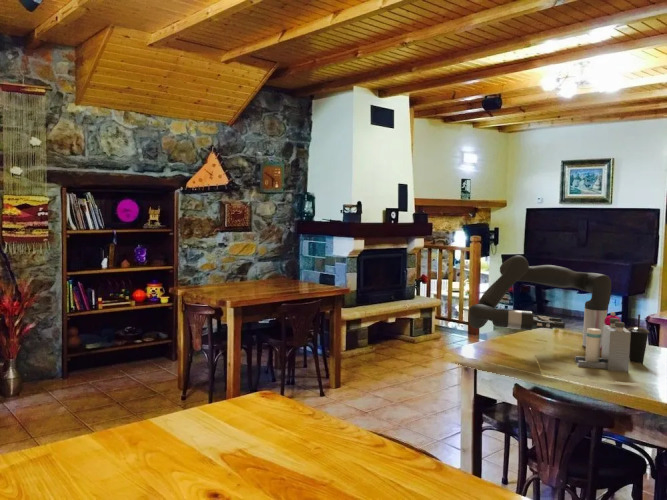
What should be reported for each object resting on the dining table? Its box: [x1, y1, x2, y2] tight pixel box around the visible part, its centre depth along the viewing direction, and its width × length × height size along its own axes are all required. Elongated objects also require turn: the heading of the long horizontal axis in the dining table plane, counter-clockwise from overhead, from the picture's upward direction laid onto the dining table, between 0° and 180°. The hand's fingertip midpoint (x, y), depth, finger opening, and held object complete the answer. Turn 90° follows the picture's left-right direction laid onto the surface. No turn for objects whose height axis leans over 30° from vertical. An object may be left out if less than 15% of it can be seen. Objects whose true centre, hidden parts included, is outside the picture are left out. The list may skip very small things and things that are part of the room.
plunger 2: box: [615, 321, 625, 332], centre depth 212 cm, size 3×3×6 cm
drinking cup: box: [627, 314, 650, 365], centre depth 226 cm, size 8×8×20 cm
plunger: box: [610, 318, 620, 327], centre depth 219 cm, size 3×3×6 cm
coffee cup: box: [584, 328, 601, 362], centre depth 218 cm, size 5×5×14 cm
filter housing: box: [574, 325, 631, 373], centre depth 217 cm, size 12×17×16 cm
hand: (563, 323), depth 220 cm, fingers open, 8 cm apart
